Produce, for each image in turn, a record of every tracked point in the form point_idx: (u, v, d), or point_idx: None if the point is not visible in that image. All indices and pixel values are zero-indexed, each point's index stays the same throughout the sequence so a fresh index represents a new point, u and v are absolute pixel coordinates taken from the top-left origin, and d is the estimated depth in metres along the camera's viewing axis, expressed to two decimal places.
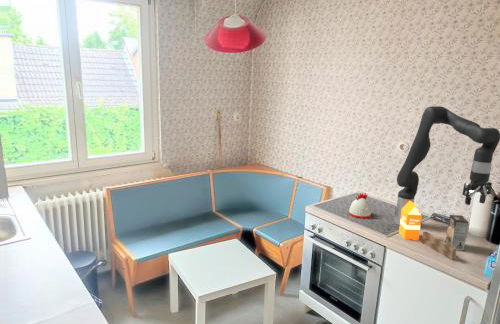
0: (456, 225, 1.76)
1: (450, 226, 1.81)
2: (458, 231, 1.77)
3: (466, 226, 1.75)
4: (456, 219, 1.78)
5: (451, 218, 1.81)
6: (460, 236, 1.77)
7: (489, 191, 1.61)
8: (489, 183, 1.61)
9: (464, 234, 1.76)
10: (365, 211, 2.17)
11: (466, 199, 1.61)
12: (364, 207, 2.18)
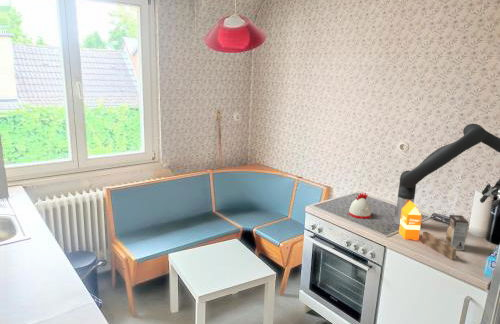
0: (456, 225, 1.76)
1: (450, 226, 1.81)
2: (458, 231, 1.77)
3: (466, 226, 1.75)
4: (456, 219, 1.78)
5: (451, 218, 1.81)
6: (460, 236, 1.77)
7: None
8: None
9: (464, 234, 1.76)
10: (365, 211, 2.17)
11: (497, 203, 1.78)
12: (364, 207, 2.18)
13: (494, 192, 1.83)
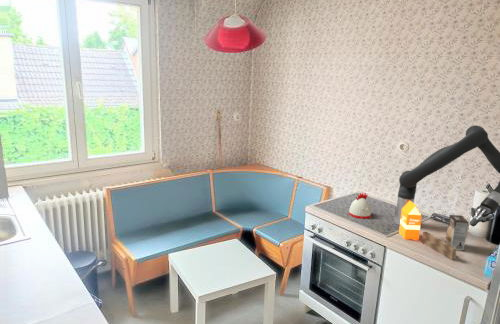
0: (456, 225, 1.76)
1: (450, 226, 1.81)
2: (458, 231, 1.77)
3: (466, 226, 1.75)
4: (456, 219, 1.78)
5: (451, 218, 1.81)
6: (460, 236, 1.77)
7: (474, 216, 1.86)
8: None
9: (464, 234, 1.76)
10: (365, 211, 2.17)
11: (476, 222, 1.81)
12: (364, 207, 2.18)
13: None
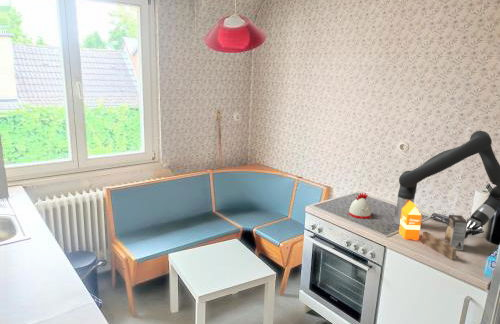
0: (455, 225, 1.76)
1: (450, 226, 1.81)
2: (458, 231, 1.76)
3: (465, 226, 1.75)
4: (455, 219, 1.78)
5: (450, 218, 1.81)
6: (459, 236, 1.77)
7: None
8: None
9: (463, 234, 1.76)
10: (365, 211, 2.17)
11: (466, 235, 1.82)
12: (364, 207, 2.18)
13: (471, 225, 1.83)
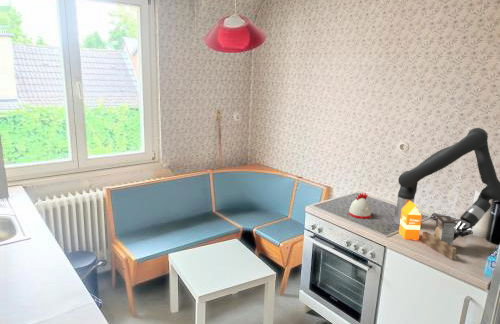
0: (444, 226, 1.75)
1: (438, 227, 1.80)
2: (446, 231, 1.75)
3: (454, 227, 1.74)
4: (444, 220, 1.76)
5: (439, 219, 1.80)
6: (448, 237, 1.76)
7: None
8: None
9: (452, 235, 1.75)
10: (365, 211, 2.17)
11: (455, 236, 1.80)
12: (364, 207, 2.18)
13: (461, 226, 1.81)
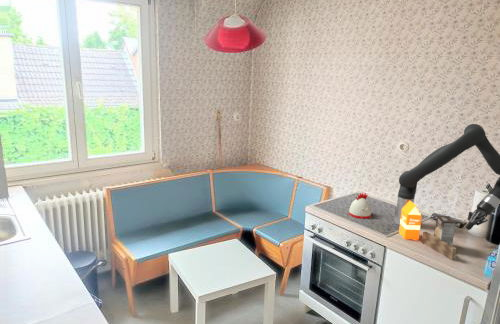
0: (444, 226, 1.75)
1: (438, 227, 1.80)
2: (446, 231, 1.75)
3: (454, 227, 1.74)
4: (444, 220, 1.76)
5: (439, 219, 1.80)
6: (448, 237, 1.76)
7: None
8: (473, 214, 1.89)
9: (452, 235, 1.75)
10: (365, 211, 2.17)
11: (471, 225, 1.83)
12: (364, 207, 2.18)
13: None
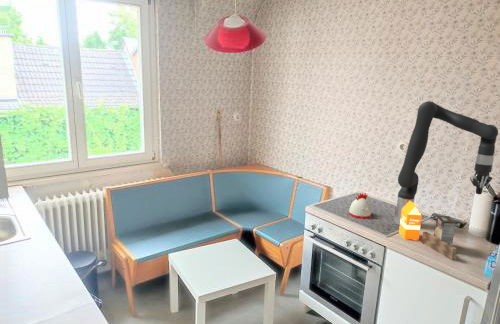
0: (444, 226, 1.75)
1: (438, 227, 1.80)
2: (446, 231, 1.75)
3: (454, 227, 1.74)
4: (444, 220, 1.76)
5: (439, 219, 1.80)
6: (448, 237, 1.76)
7: (486, 183, 1.83)
8: (490, 177, 1.83)
9: (452, 235, 1.75)
10: (365, 211, 2.17)
11: (477, 189, 1.84)
12: (364, 207, 2.18)
13: None
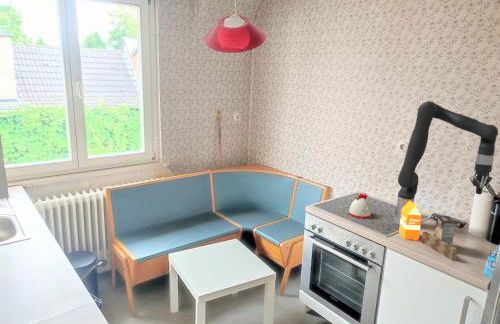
0: (444, 226, 1.75)
1: (438, 227, 1.80)
2: (446, 231, 1.75)
3: (454, 227, 1.74)
4: (444, 220, 1.76)
5: (439, 219, 1.80)
6: (448, 237, 1.76)
7: (486, 183, 1.83)
8: (490, 177, 1.83)
9: (452, 235, 1.75)
10: (365, 211, 2.17)
11: (477, 189, 1.84)
12: (364, 207, 2.18)
13: None
